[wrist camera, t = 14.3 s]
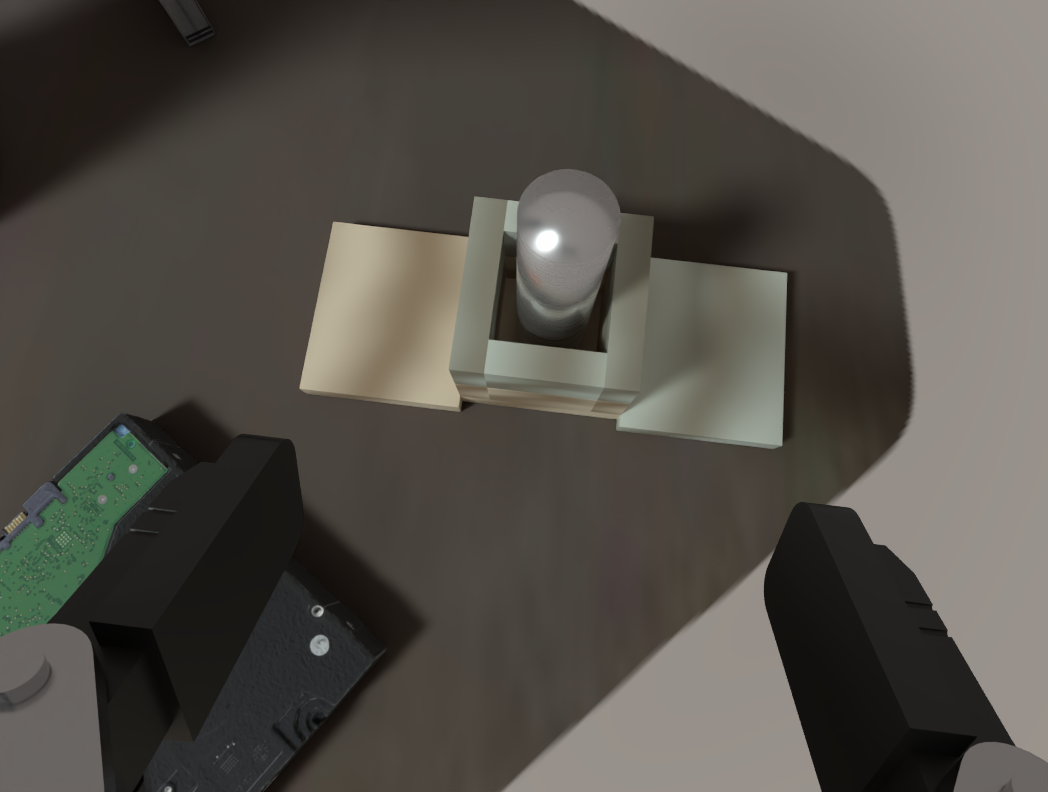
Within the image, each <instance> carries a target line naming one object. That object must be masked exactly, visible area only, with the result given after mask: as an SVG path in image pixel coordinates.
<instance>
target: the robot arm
mask: <svg viewBox="0 0 1048 792" xmlns="http://www.w3.org/2000/svg"><path fill="white" fill-rule="evenodd" d="M303 518H304V511H303V503H302V496H301V488H300V481H299V474H298V467H297V460H296V452H295V447H294V444H293V443H292V441H291V440H289V439H283V438H275V437H266V436H258V435H249V434H240V435H238V436H237V437H236V438H235V439H234V440H233V441H232V442H231V444H230V445H229V446H228V447H227V449H226V450H225V451H224V452H223V454H222V455H221V456H220V457H219V459H218V460H217V461H216V462H215V463H210V462H200V463H199V464H197V465H195V466H194V467H192V468H191V469H189V470H187V471H186V472H184V473H183V474H181V475H179V476H178V477H176V478H175V479H173V480H172V481H170V482H169V483H168V484H167V486H166V487H165V488H164V489H163V490H162V491H161V492H160V494H159V495H158V496H157V497H156V498H155V499H154V501H153V502H152V503H151V504H150V505H149V506H148V511H147V512H143V513H142V514H141V516H140V517H139V518H138V519H137V520H136V521H135V523H134V524H133V525H132V526H131V527H130V532H129V533H128V534H126V533H125V534H124V535H123V536H122V538H121V539H120V540H119V541H118V542H117V543H116V544H115V546H114V547H113V548H112V549H111V550H110V551H109V553H108V554H107V555H106V556H105V557H104V558H103V560H102V561H101V562H100V563H99V564H98V565H97V566H96V568H95V569H94V570H93V571H92V572H91V573H90V575H89V576H88V577H87V578H86V579H85V580H84V581H83V583H82V584H81V585H80V586H79V587H78V588H77V590H76V591H75V592H74V593H73V594H72V595H71V597H70V598H69V599H68V600H67V601H66V602H65V603H64V605H63V606H62V607H61V608H60V609H59V610H58V612H57V613H56V614H55V615H54V616H53V617H52V618H51V619H50V620H49V621H48V622H47V623H46V624H41V625H35V626H30V627H26V628H23V629H19V630H16V631H14V632H11V633H9V634H6V635H4V636H2V637H0V792H152V786H151V779H150V773H149V769H148V765H149V763H150V761H151V760H152V758H153V756H154V754H155V753H156V751H157V749H158V747H159V746H160V744H161V742H162V740H163V739H167V740H175V741H183V742H190V743H194V741H195V740H196V738H197V736H198V734H199V732H200V730H201V728H202V726H203V724H204V722H205V721H206V719H207V717H208V715H209V713H210V711H211V709H212V707H213V705H214V703H215V702H216V700H217V698H218V696H219V694H220V692H221V690H222V688H223V686H224V684H225V683H226V681H227V679H228V677H229V675H230V673H231V671H232V669H233V667H234V665H235V664H236V662H237V660H238V658H239V656H240V654H241V652H242V650H243V648H244V646H245V645H246V643H247V641H248V639H249V637H250V635H251V633H252V631H253V629H254V627H255V626H256V624H257V622H258V620H259V618H260V616H261V614H262V612H263V610H264V608H265V607H266V605H267V603H268V601H269V599H270V597H271V595H272V593H273V591H274V589H275V588H276V586H277V584H278V582H279V580H280V578H281V576H282V574H283V572H284V571H285V569H286V567H287V565H288V563H289V561H290V559H291V557H292V555H293V553H294V552H295V549H296V547H297V545H298V542H299V539H300V536H301V532H302V527H303ZM764 600H765V606H766V610H767V613H768V617H769V620H770V623H771V626H772V630H773V633H774V636H775V640H776V643H777V646H778V650H779V653H780V656H781V659H782V663H783V666H784V669H785V673H786V676H787V679H788V682H789V686H790V689H791V692H792V696H793V699H794V702H795V705H796V709H797V712H798V715H799V719H800V721H801V725H802V728H803V732H804V735H805V738H806V741H807V745H808V748H809V751H810V755H811V758H812V761H813V764H814V768H815V771H816V774H817V778H818V781H819V784H820V787H821V791H822V792H1048V763H1047V762H1046V761H1044V760H1043V759H1041V758H1039V757H1037V756H1035V755H1034V754H1032V753H1030V752H1028V751H1025V750H1023V749H1021V748H1018V747H1016V746H1015V744H1014V743H1013V741H1012V740H1011V738H1010V736H1009V734H1008V733H1007V731H1006V729H1005V728H1004V726H1003V724H1002V723H1001V721H1000V719H999V717H998V716H997V714H996V712H995V711H994V709H993V707H992V705H991V704H990V702H989V700H988V699H987V697H986V696H985V693H984V692H983V690H982V688H981V687H980V685H979V683H978V681H977V680H976V678H975V676H974V675H973V673H972V671H971V670H970V668H969V666H968V664H967V663H966V661H965V659H964V657H963V656H962V654H961V652H960V651H959V649H958V647H957V645H956V644H955V642H954V641H953V639H952V637H948V635H947V628H946V627H945V625H944V623H943V621H942V620H941V618H940V616H939V615H938V613H937V611H933V610H932V605H933V604H932V603H931V601H930V599H929V597H928V596H927V594H926V592H925V591H924V589H923V587H922V586H921V584H920V582H919V580H918V579H917V577H916V575H915V574H914V573H913V572H912V571H911V570H910V569H909V568H908V567H907V566H906V565H905V564H904V563H903V562H902V561H901V560H900V559H899V558H898V557H897V556H896V555H895V554H894V553H893V552H892V551H891V550H889V549H888V548H887V547H886V546H884V545H876V544H873V542H872V540H871V538H870V536H869V535H868V533H867V531H866V529H865V527H864V525H863V523H862V522H861V520H860V518H859V516H858V515H857V513H856V512H855V511H854V510H853V509H851V508H847V507H840V506H831V505H823V504H814V503H806V502H800V503H798V504H796V505H795V507H794V508H793V510H792V512H791V514H790V516H789V518H788V521H787V523H786V525H785V528H784V530H783V532H782V535H781V537H780V539H779V542H778V544H777V546H776V549H775V551H774V553H773V556H772V558H771V560H770V563H769V565H768V568H767V570H766V574H765V580H764Z"/></svg>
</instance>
